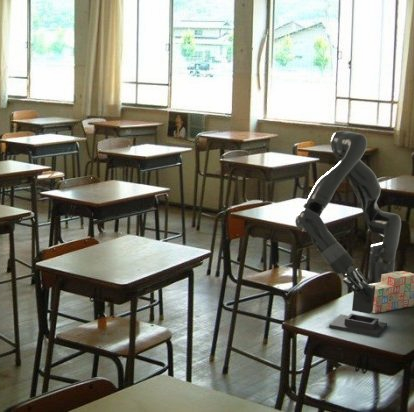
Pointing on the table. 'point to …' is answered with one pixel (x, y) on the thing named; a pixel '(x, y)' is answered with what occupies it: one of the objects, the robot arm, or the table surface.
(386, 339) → the table surface
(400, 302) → the stack of blocks
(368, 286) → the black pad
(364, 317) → the base pad
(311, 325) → the table surface
